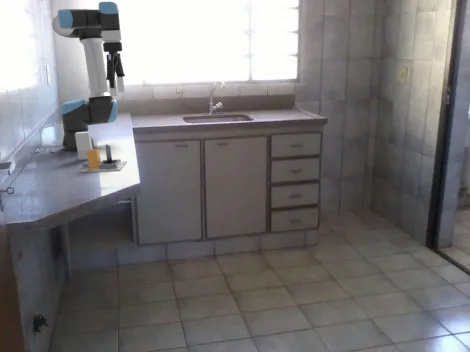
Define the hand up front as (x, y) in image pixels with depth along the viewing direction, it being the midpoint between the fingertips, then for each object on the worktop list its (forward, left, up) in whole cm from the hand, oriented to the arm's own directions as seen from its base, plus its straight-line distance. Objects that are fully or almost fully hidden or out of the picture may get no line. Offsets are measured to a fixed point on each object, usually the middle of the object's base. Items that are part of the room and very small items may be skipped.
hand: (117, 94), depth 206 cm
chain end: (+10, -8, -28) cm, 31 cm away
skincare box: (-7, -19, -29) cm, 35 cm away
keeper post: (+10, -6, -29) cm, 31 cm away
